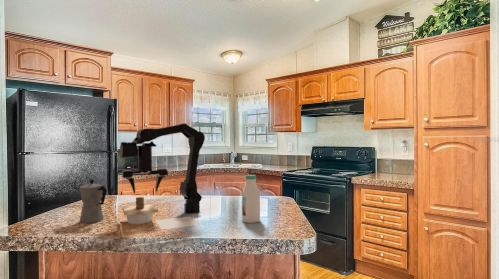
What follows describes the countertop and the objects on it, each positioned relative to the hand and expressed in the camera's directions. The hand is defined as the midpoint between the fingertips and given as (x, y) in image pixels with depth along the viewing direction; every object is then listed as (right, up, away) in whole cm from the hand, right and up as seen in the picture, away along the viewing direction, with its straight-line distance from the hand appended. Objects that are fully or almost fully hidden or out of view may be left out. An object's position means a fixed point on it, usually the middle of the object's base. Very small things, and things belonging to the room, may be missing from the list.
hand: (145, 192), depth 137 cm
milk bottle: (+47, -12, -2) cm, 48 cm away
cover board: (-1, -7, -5) cm, 8 cm away
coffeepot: (-22, -12, -2) cm, 25 cm away
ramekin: (-1, -12, -5) cm, 13 cm away
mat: (+16, -12, -7) cm, 21 cm away
